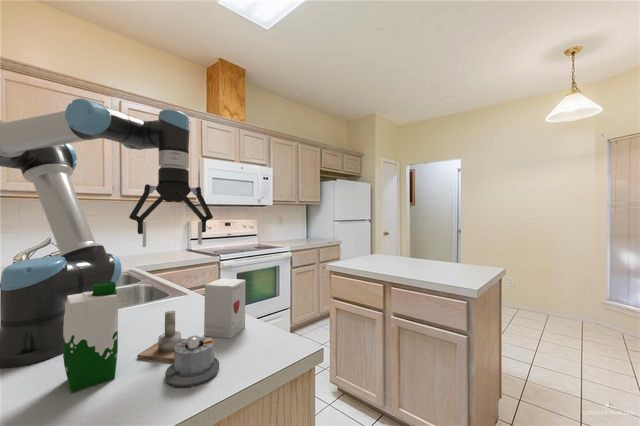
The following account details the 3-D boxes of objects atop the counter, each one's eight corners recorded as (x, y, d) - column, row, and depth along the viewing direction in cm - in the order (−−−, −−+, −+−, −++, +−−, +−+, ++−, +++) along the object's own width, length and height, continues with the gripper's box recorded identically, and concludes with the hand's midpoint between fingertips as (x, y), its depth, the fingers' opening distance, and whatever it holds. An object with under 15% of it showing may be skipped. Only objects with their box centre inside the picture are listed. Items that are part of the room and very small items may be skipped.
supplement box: (231, 339, 81) (232, 286, 81) (203, 336, 82) (203, 284, 82) (246, 326, 89) (246, 279, 89) (220, 324, 91) (220, 277, 91)
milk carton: (120, 378, 61) (121, 285, 61) (64, 397, 55) (65, 294, 55) (113, 363, 67) (114, 278, 67) (61, 378, 61) (62, 285, 61)
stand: (137, 358, 69) (137, 317, 69) (166, 340, 79) (166, 304, 79) (174, 362, 68) (174, 320, 68) (198, 343, 78) (199, 307, 78)
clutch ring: (175, 381, 58) (175, 355, 58) (173, 363, 65) (173, 339, 65) (216, 370, 62) (216, 346, 62) (210, 354, 69) (210, 332, 69)
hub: (152, 384, 59) (153, 347, 59) (186, 358, 70) (186, 326, 70) (201, 391, 57) (201, 352, 57) (228, 362, 68) (228, 330, 68)
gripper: (117, 162, 69) (116, 249, 69) (223, 170, 82) (222, 244, 82) (120, 166, 76) (119, 246, 76) (218, 173, 88) (217, 241, 88)
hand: (173, 245), depth 79 cm, fingers open, 13 cm apart
